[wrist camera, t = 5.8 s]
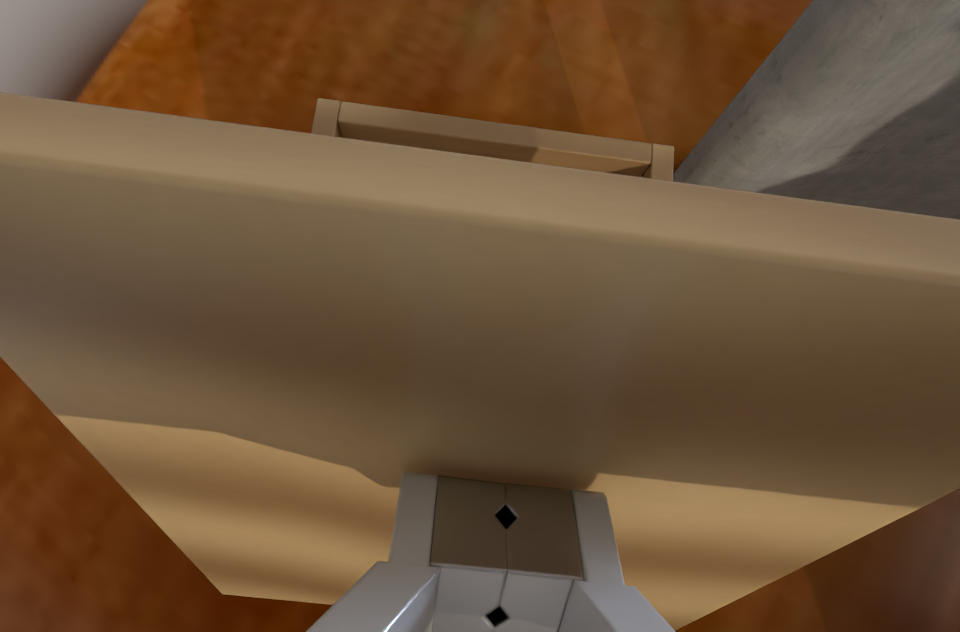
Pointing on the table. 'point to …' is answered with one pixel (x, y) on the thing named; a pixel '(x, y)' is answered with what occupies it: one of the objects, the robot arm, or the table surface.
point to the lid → (469, 346)
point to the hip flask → (848, 112)
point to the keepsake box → (493, 139)
